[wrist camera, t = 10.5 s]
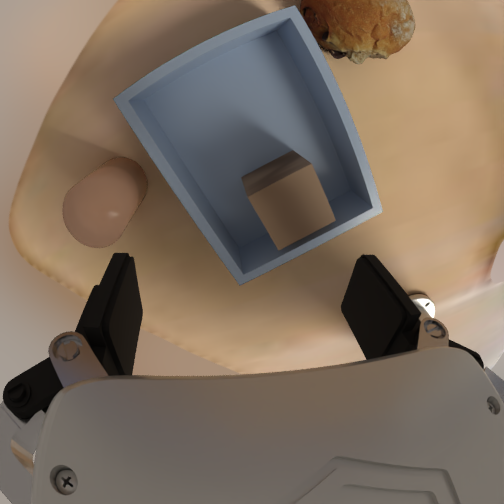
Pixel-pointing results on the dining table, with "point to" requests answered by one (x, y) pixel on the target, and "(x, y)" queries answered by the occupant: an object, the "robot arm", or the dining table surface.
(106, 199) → the terracotta cylinder
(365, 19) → the bread roll
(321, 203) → the walnut cube
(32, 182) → the dining table surface
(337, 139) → the tote
